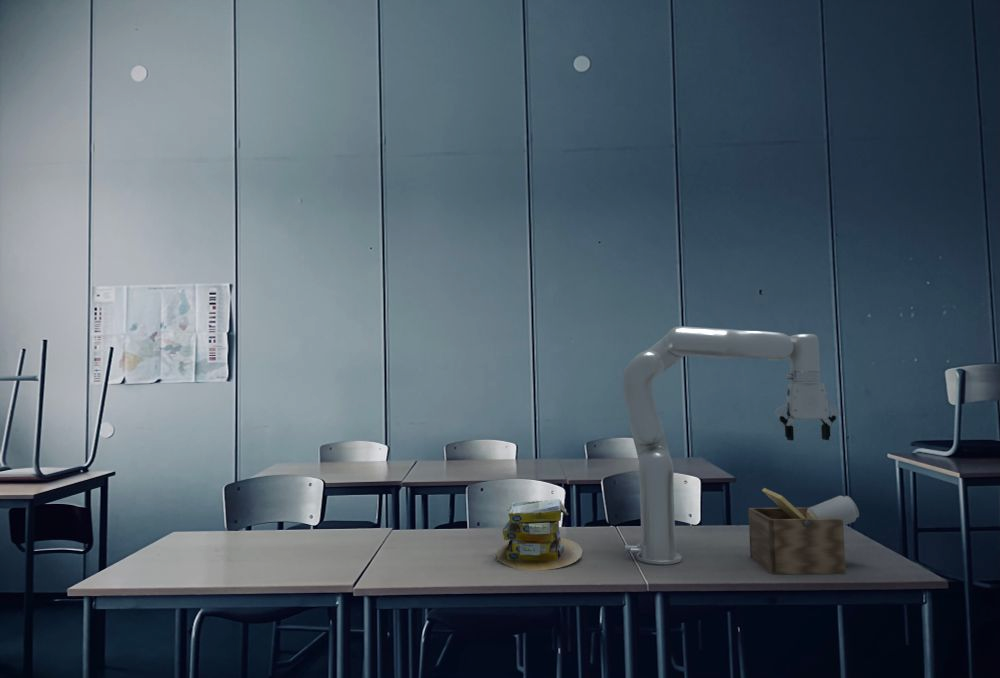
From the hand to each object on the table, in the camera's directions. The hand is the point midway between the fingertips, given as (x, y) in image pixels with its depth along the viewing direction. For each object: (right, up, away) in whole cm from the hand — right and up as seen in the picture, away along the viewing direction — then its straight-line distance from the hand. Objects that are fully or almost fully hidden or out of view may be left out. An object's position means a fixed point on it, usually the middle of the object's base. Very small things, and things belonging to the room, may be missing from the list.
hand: (807, 439), depth 188 cm
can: (0, -23, -1) cm, 23 cm away
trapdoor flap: (-5, -21, -1) cm, 21 cm away
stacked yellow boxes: (-74, -36, +10) cm, 83 cm away
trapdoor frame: (-4, -34, -2) cm, 34 cm away
